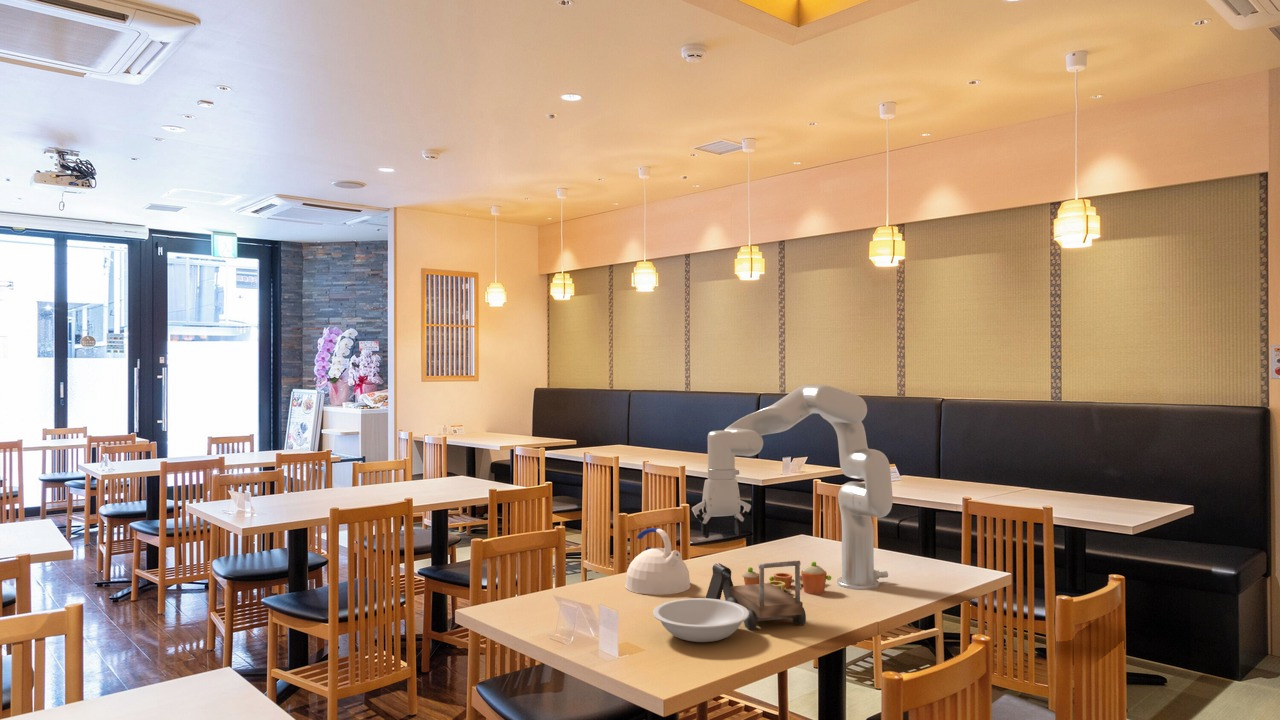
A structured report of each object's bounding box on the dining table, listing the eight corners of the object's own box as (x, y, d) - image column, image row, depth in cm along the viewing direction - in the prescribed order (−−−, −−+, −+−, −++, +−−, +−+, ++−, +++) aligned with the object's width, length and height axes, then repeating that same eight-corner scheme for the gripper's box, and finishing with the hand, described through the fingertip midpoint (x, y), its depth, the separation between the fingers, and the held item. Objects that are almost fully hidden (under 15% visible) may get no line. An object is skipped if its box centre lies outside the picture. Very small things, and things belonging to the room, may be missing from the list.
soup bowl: (657, 621, 221) (657, 596, 221) (748, 624, 218) (748, 599, 218) (648, 653, 197) (648, 625, 197) (750, 656, 195) (750, 627, 195)
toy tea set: (818, 582, 260) (818, 551, 260) (837, 596, 245) (837, 563, 245) (737, 586, 256) (737, 555, 256) (751, 600, 241) (751, 567, 241)
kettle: (652, 600, 242) (651, 537, 242) (612, 585, 259) (611, 526, 259) (705, 588, 254) (704, 529, 254) (663, 575, 270) (663, 519, 271)
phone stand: (711, 613, 228) (711, 569, 228) (702, 607, 234) (702, 564, 234) (741, 609, 231) (741, 566, 231) (731, 603, 237) (731, 561, 237)
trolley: (775, 607, 233) (774, 544, 233) (808, 629, 214) (808, 560, 214) (724, 612, 229) (723, 548, 229) (753, 634, 210) (753, 565, 210)
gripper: (744, 471, 239) (745, 531, 239) (687, 474, 234) (688, 535, 234) (755, 475, 231) (755, 536, 231) (696, 478, 227) (697, 540, 227)
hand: (721, 536), depth 233 cm, fingers open, 9 cm apart
